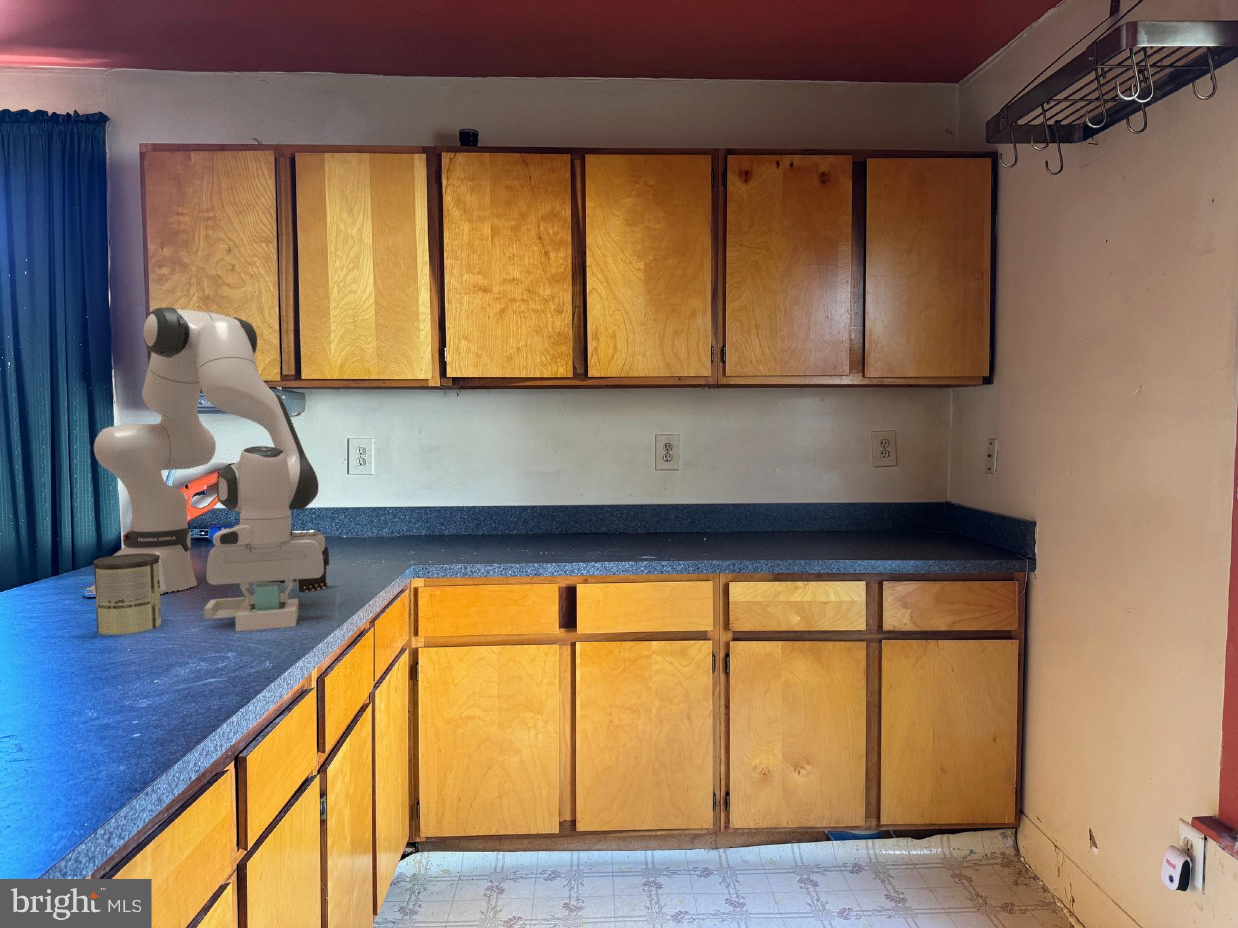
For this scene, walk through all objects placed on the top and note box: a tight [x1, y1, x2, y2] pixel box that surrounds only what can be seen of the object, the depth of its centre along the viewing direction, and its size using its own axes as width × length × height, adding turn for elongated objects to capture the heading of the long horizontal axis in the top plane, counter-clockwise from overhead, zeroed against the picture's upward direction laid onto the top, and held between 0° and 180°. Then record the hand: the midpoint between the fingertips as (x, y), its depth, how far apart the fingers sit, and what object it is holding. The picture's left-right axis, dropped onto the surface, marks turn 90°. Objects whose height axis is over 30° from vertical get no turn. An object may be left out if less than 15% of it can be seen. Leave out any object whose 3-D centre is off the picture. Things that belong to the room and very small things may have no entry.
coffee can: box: [93, 553, 162, 636], centre depth 139 cm, size 10×10×14 cm
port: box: [235, 598, 299, 632], centre depth 143 cm, size 10×10×4 cm
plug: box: [254, 581, 281, 611], centre depth 143 cm, size 4×4×7 cm
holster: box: [203, 596, 247, 620], centre depth 151 cm, size 8×8×3 cm
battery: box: [295, 544, 330, 593], centre depth 172 cm, size 7×4×11 cm, turn 143°
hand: (267, 603), depth 143 cm, fingers closed on plug, 4 cm apart
